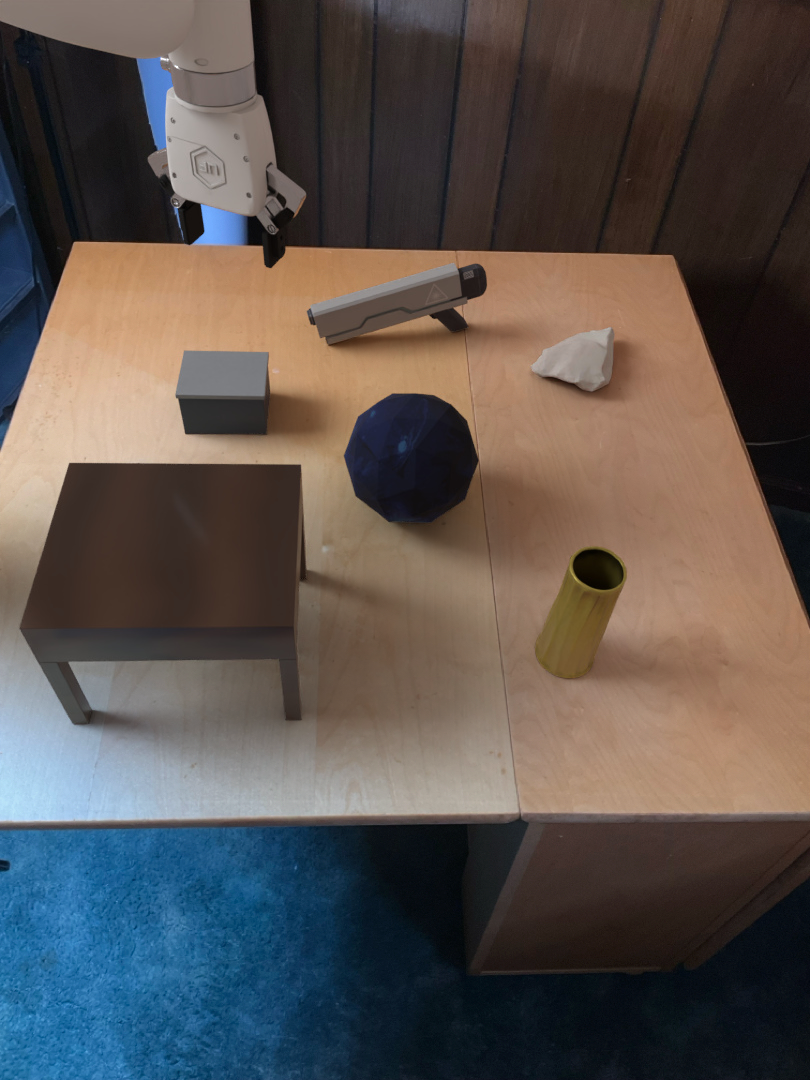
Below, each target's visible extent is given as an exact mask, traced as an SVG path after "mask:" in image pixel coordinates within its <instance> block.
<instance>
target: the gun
mask: <svg viewBox="0 0 810 1080" xmlns="http://www.w3.org/2000/svg"><path fill="white" fill-rule="evenodd" d="M487 277H488V276H487V272H486V270H485V268H484V266H482V265H481V264H480V263H472V264H471V263H470V264H467V265H465V266H462V267H457V265H456V263H455V262H452V263H448V264H444V265H441V266H438V267H433V268H430V269H427V270H424V271H421V272H418V273H414V274H411V275H407V276H404V277H400V278H397V279H394V280H390V281H387V282H383V283H380V284H376V285H374V286H373V285H372V286H370V287H367V288H364V289H360V290H356V291H354V292H353V291H352V292H350V293H346V294H342V295H340V296H336V297H333V298H329V299H326V300H322V301H320V302H316V303H313V304H310V308H308V309H307V310H306V315H307V317H308V321H309V324H310V326H316V331H317V334H318V336H319V338H320V339H322V338H325V342H326V344H327V345H328V346H330V345H333V344H336V343H340V342H343V341H347V340H350V339H353V338H356V337H359V336H364V335H366V334H370V333H374V332H376V331H380V330H384V329H386V328H391V327H394V326H398V325H400V324H403V323H407V322H411V321H414V320H417V319H420V318H424V317H428V316H429V317H430V318H431V319H432V320H438V321H439V322H440V323H441V324H442V325H443V326H444V327H445V328H446V329H447V330H449V331H450V332H451V333H456V332H459V331H462V330H466V329H468V328H469V324H468V323H467V321H466V319H465V318H464V317H463V316H462V314H460V313H459V312H458V311H457V310H456V309H455V308H457V307H460V306H465V305H468V303H469V302H468V301H470V300H473V299H476V298H480V297H481V296H483V295H484V294H485V292H486V291H487V288H488V278H487Z"/></svg>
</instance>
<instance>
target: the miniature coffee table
mask: <svg viewBox="0 0 810 1080" xmlns="http://www.w3.org/2000/svg"><path fill="white" fill-rule="evenodd" d="M302 475H303V473H302V464H300V463H299V464H297V463H296V464H295V463H294V464H293V463H291V464H289V463H285V464H284V463H279V464H278V463H168V462H167V463H166V462H165V463H161V462H160V463H157V462H156V463H155V462H153V463H152V462H68V466H67V468H66V472H65V475H64V478H63V483H62V486H61V489H60V492H59V494H58V495H59V496H58V498H57V502H56V505H55V509H54V511H53V515H52V518H51V521H50V525H49V529H48V531H47V535H46V537H45V542H44V545H43V548H42V552H41V555H40V558H39V561H38V566H37V568H36V572H35V574H34V578H33V580H32V581H33V582H32V585H31V588H30V590H29V591H30V592H29V594H28V599H27V601H26V605H25V608H24V611H23V615H22V618H21V620H20V621H21V622H20V624H19V629H18V630H19V631H20V633H21V635H22V637H23V638H24V641H25V642H26V644H27V645H28V647H29V649H30V651H31V652H32V655H33V657H34V658H35V659H36V662H37V663H38V665H39V667H40V669H41V670H42V672H43V674H44V676H45V677H46V680H47V681H48V683H49V685H50V686H51V688H52V690H53V692H54V693H55V695H56V697H57V699H58V700H59V703H60V704H61V706H62V708H63V710H64V712H65V713H66V715H67V717H68V719H69V720H70V722H71V724H72V725H88V724H90V720H91V717H92V716H91V715H92V710H93V709H92V707H91V705H90V703H89V701H88V699H87V697H86V695H85V692H84V690H83V689H82V687H81V684H80V683H79V681H78V679H77V677H76V675H75V672H74V671H73V668H72V667H71V665H70V663H81V662H83V663H85V662H92V663H93V662H95V663H96V662H170V661H171V662H172V661H174V662H175V661H182V662H183V661H247V660H248V661H251V660H252V661H254V660H255V661H259V660H261V661H262V660H265V661H266V660H267V661H268V660H278V666H279V674H280V675H279V676H280V684H281V692H282V702H283V710H284V711H283V712H284V718H285V721H301V720H302V715H303V701H302V689H301V675H300V665H299V662H300V661H299V651H298V635H299V634H298V631H299V612H300V611H299V609H300V608H299V607H300V587H301V584H300V583H301V582H300V581H301V580H307V576H308V575H307V574H308V573H307V571H308V568H307V567H308V565H307V547H306V531H305V528H306V527H305V511H304V493H303V476H302Z"/></svg>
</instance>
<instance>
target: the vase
mask: <svg viewBox="0 0 810 1080" xmlns="http://www.w3.org/2000/svg"><path fill="white" fill-rule="evenodd" d="M627 575H628V571H627V567H626V564H625V561H623V559H622V558H621V557H620V556H619V555H618V554H617V553H616V552H614V551H613V550H611V549H609V548H606V547H603V546H598V545H591V546H584V547H582V548H579V549H578V550H575V552H574V553H572V555H570V557H569V562H568V565H567V569H566V571H565V573H564V576H563V579H562V582H561V585H560V587H559V589H558V592H557V594H556V597H555V599H554V601H553V602H552V604H551V606H550V608H549V612H548V614H547V616H546V619H545V621H544V624H543V627H542V629H541V632H540V633H539V634H538V636H537V638H536V641H535V644H534V653H535V656H536V659H537V661H538V663H539V664H540V665H541V667H542V668H543V669H545V670H546V671H547V672H548V673H550V674H551V675H553V676H556V677H558V678H563V679H575V678H580V677H582V676H584V675H585V674H587V673H588V672H590V670H591V669H592V667H593V666H594V663H595V660H596V656H597V653H598V652H599V651H598V650H599V648H600V646H601V645H600V644H601V643H602V640H603V638H604V635H605V633H606V630H607V627H608V625H609V622H610V620H611V617H612V615H613V613H614V609H615V607H616V605H617V602H618V599H619V597H620V594H621V592H622V590H623V588H624V585H626V584H625V583H626V582H627V578H628V576H627Z"/></svg>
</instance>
